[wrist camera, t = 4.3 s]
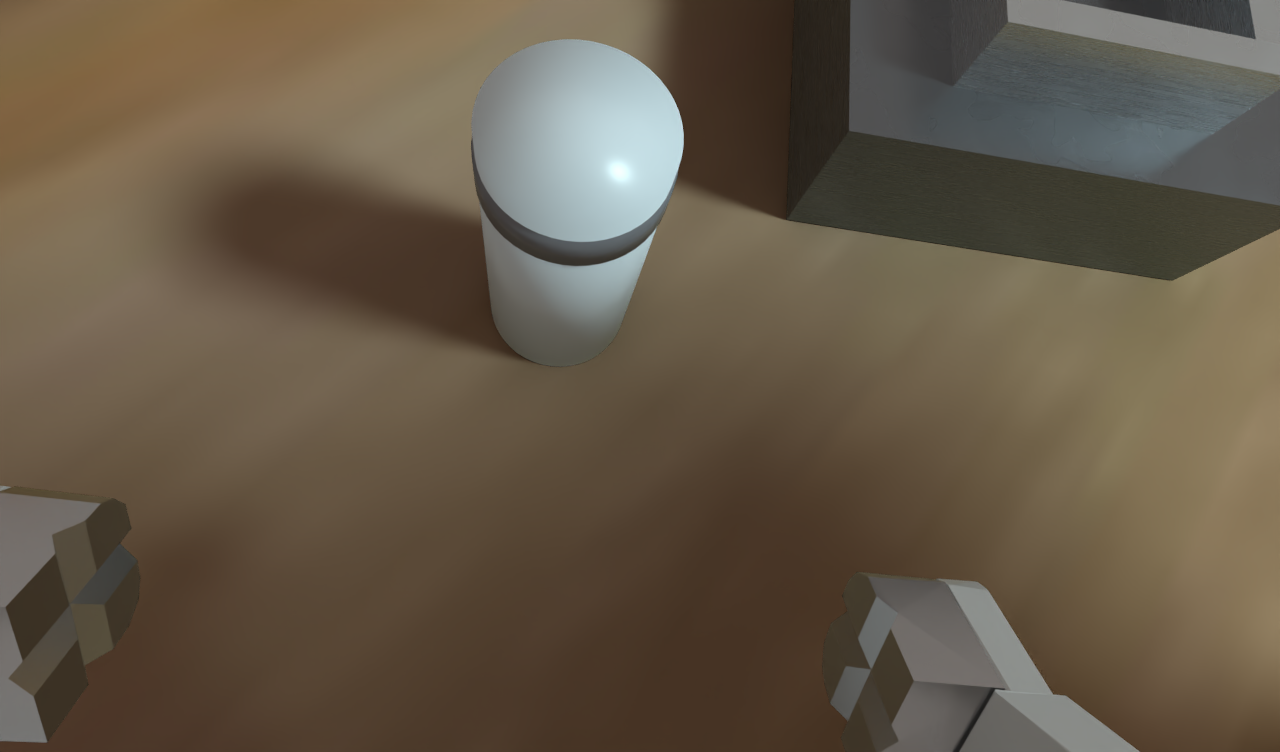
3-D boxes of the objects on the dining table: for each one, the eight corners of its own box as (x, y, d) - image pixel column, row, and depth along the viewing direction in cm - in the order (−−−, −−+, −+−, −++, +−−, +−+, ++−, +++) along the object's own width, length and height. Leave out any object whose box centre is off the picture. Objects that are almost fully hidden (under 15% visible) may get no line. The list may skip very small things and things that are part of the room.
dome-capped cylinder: (631, 251, 24) (693, 57, 15) (618, 376, 22) (678, 242, 14) (499, 232, 23) (485, 20, 15) (479, 358, 22) (452, 208, 13)
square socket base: (1137, 1, 30) (1330, -184, 23) (1172, 280, 26) (1412, 164, 19) (797, -68, 28) (890, -292, 21) (786, 219, 25) (892, 68, 18)
